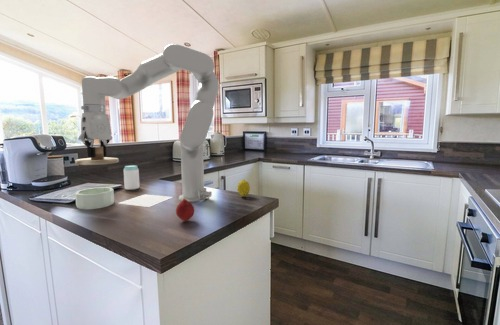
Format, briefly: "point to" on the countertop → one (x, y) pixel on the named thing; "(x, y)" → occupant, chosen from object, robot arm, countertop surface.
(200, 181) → the robot arm
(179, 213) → the onion
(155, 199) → the mat
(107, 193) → the bowl
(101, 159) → the lid
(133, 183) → the can
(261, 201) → the countertop surface
